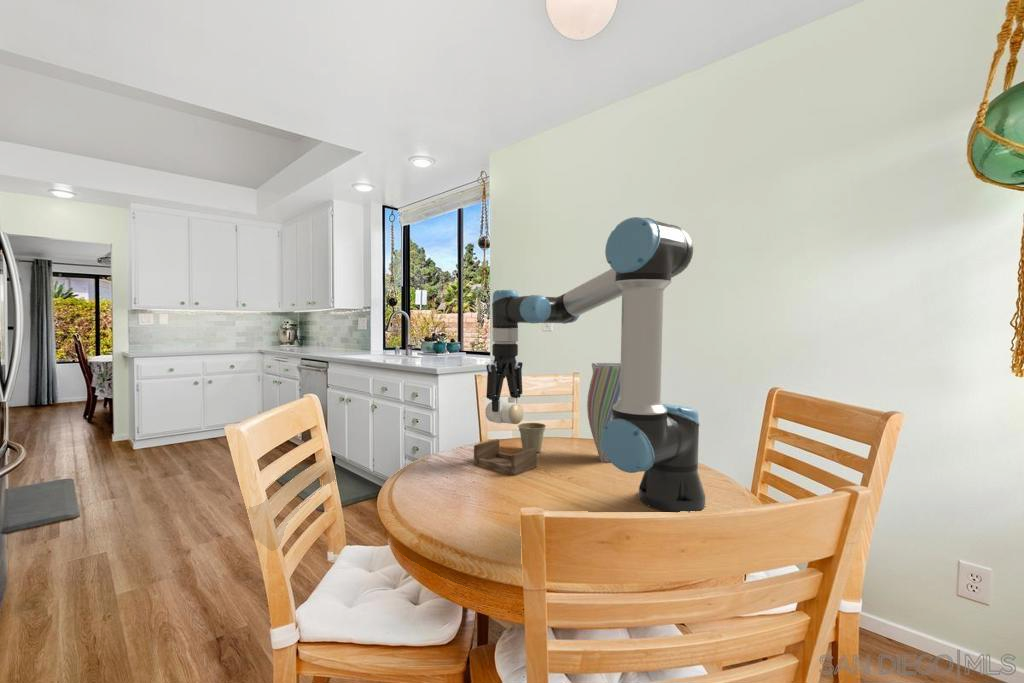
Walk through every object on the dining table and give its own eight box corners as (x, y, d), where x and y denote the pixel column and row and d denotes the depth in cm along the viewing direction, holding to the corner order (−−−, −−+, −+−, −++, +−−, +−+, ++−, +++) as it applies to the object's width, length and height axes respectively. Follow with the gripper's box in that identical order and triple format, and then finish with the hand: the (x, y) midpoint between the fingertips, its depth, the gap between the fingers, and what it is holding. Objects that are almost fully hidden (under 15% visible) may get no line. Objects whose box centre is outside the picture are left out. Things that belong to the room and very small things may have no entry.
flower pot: (514, 448, 157) (514, 423, 157) (539, 446, 160) (540, 421, 160) (522, 456, 148) (523, 429, 148) (550, 453, 151) (550, 427, 151)
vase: (583, 453, 152) (584, 361, 150) (625, 453, 151) (626, 362, 150) (589, 466, 138) (589, 365, 137) (634, 466, 137) (636, 366, 136)
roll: (524, 421, 136) (522, 401, 136) (510, 426, 132) (508, 405, 132) (500, 419, 143) (498, 400, 143) (486, 423, 139) (484, 403, 139)
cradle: (536, 467, 136) (536, 448, 136) (514, 476, 129) (514, 455, 129) (496, 457, 147) (496, 439, 147) (474, 464, 139) (474, 445, 139)
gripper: (516, 341, 146) (515, 414, 147) (473, 343, 132) (473, 424, 133) (535, 342, 141) (534, 417, 142) (492, 344, 127) (492, 428, 128)
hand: (504, 420), depth 137 cm, fingers closed on roll, 6 cm apart
